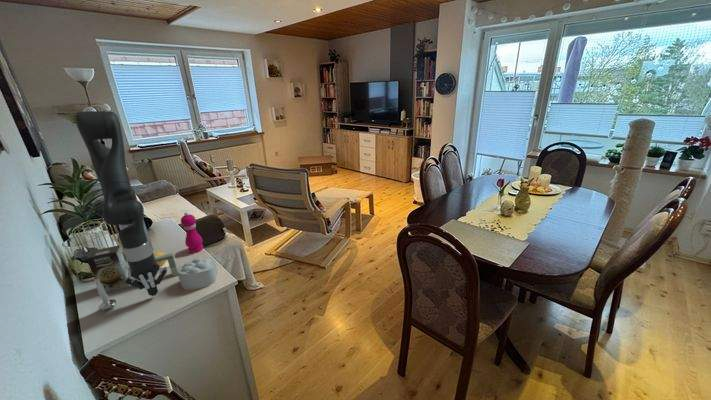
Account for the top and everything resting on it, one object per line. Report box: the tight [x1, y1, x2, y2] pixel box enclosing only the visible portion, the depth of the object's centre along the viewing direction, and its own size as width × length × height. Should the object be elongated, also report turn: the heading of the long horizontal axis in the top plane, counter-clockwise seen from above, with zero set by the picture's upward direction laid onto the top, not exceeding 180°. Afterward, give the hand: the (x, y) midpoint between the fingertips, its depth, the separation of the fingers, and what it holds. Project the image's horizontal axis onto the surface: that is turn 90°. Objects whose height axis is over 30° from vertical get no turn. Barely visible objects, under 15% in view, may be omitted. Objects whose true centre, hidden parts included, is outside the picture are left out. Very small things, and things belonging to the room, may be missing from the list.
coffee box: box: [85, 244, 130, 293], centre depth 111 cm, size 9×6×16 cm
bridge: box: [127, 251, 179, 289], centre depth 115 cm, size 3×15×10 cm, turn 120°
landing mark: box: [159, 252, 176, 268], centre depth 129 cm, size 12×12×1 cm
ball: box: [153, 251, 167, 266], centre depth 126 cm, size 6×6×6 cm
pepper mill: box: [180, 211, 204, 254], centre depth 135 cm, size 7×7×20 cm
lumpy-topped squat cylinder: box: [177, 257, 218, 291], centre depth 114 cm, size 10×13×9 cm
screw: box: [93, 278, 117, 312], centre depth 100 cm, size 13×5×5 cm
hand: (154, 294), depth 106 cm, fingers closed
